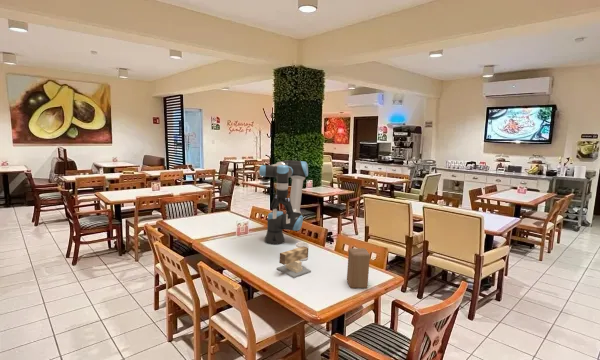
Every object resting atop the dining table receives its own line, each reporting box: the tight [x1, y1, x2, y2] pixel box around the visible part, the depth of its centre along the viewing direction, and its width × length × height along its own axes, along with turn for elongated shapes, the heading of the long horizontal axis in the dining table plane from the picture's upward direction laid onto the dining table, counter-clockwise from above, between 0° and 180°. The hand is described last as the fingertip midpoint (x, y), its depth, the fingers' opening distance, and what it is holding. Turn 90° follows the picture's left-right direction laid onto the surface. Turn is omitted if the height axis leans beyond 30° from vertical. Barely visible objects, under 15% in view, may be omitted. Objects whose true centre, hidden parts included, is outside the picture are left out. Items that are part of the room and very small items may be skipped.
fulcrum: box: [276, 260, 312, 279], centre depth 205 cm, size 14×16×7 cm
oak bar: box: [278, 247, 309, 266], centre depth 204 cm, size 20×4×6 cm, turn 133°
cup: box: [293, 241, 309, 262], centre depth 224 cm, size 8×12×10 cm
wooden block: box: [346, 247, 371, 289], centre depth 189 cm, size 10×10×20 cm
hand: (281, 221), depth 219 cm, fingers open, 13 cm apart
